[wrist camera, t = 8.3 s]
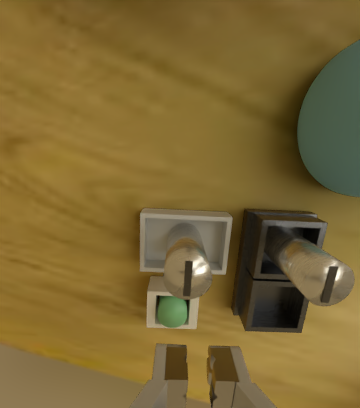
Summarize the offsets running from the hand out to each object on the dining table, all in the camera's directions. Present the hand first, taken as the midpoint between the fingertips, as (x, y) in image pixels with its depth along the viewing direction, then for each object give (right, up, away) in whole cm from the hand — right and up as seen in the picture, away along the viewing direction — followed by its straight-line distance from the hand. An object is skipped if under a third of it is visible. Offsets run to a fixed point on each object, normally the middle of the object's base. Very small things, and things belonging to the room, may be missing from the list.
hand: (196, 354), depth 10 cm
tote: (0, +3, +14) cm, 15 cm away
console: (-2, -4, +16) cm, 17 cm away
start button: (-2, -5, +15) cm, 16 cm away
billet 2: (+11, +3, +13) cm, 17 cm away
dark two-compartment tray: (+11, 0, +15) cm, 19 cm away
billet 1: (0, +3, +14) cm, 14 cm away
